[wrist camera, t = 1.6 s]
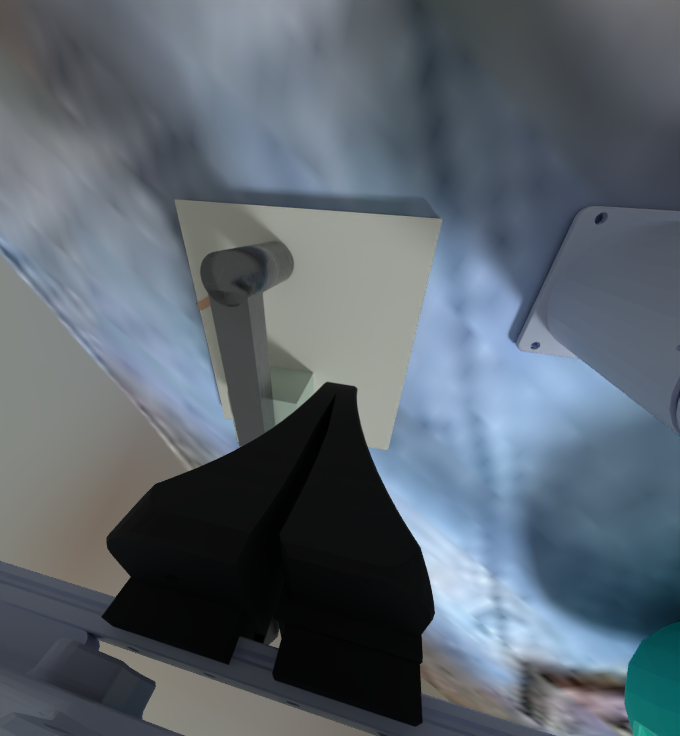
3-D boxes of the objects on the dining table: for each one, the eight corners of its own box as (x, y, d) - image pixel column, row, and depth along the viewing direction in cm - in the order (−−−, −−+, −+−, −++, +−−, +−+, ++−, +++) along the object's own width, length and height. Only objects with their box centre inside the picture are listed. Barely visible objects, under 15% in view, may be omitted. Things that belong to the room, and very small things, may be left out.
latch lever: (293, 243, 15) (246, 254, 11) (298, 401, 22) (270, 452, 17) (256, 239, 16) (194, 249, 11) (271, 396, 22) (236, 445, 17)
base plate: (440, 218, 14) (443, 218, 13) (388, 442, 24) (387, 451, 23) (184, 200, 16) (171, 199, 15) (229, 411, 26) (223, 418, 25)
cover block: (313, 372, 20) (296, 404, 17) (313, 419, 23) (298, 454, 19) (254, 363, 21) (227, 391, 17) (260, 409, 23) (237, 442, 20)
